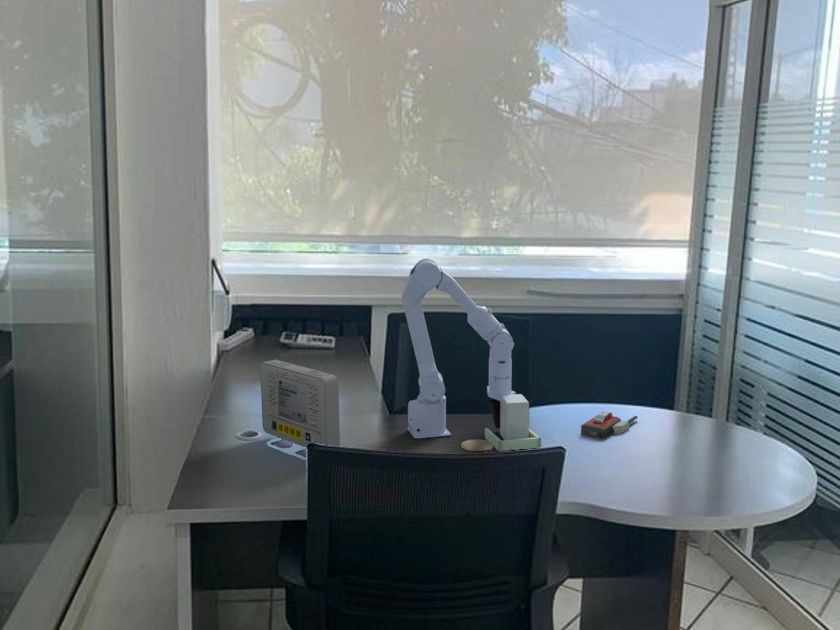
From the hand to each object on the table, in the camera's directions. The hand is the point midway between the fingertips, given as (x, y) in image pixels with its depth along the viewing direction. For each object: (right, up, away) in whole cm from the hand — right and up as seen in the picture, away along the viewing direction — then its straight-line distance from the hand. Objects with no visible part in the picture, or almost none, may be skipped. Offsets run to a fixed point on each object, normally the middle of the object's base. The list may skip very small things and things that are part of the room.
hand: (499, 427), depth 221 cm
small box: (+3, -2, -6) cm, 7 cm away
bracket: (+2, -3, -8) cm, 9 cm away
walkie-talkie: (+28, -1, +2) cm, 29 cm away
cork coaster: (-6, -3, -11) cm, 13 cm away
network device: (-50, -4, -11) cm, 51 cm away
